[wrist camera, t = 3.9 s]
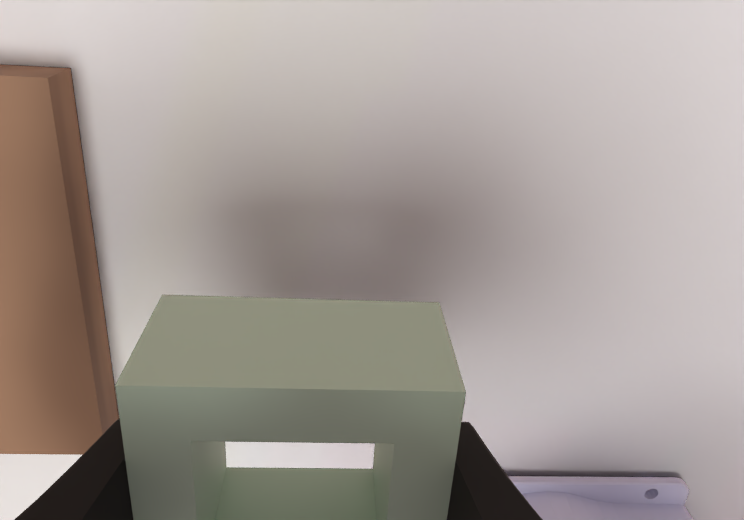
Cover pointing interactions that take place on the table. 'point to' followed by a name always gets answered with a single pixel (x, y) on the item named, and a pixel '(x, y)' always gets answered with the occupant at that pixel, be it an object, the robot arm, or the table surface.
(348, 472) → the collar
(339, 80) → the table surface
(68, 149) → the peg base
